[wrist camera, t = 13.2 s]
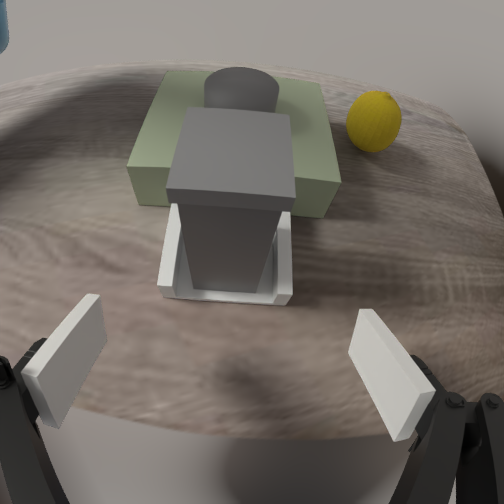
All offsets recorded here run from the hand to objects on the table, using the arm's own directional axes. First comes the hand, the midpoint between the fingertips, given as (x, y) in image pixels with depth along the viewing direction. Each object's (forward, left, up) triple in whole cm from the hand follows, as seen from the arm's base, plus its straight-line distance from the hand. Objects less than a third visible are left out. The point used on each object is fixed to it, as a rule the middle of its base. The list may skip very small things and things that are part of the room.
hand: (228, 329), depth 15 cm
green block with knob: (-14, +3, -7) cm, 16 cm away
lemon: (-17, +18, -7) cm, 26 cm away
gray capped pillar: (-6, +1, -6) cm, 9 cm away
